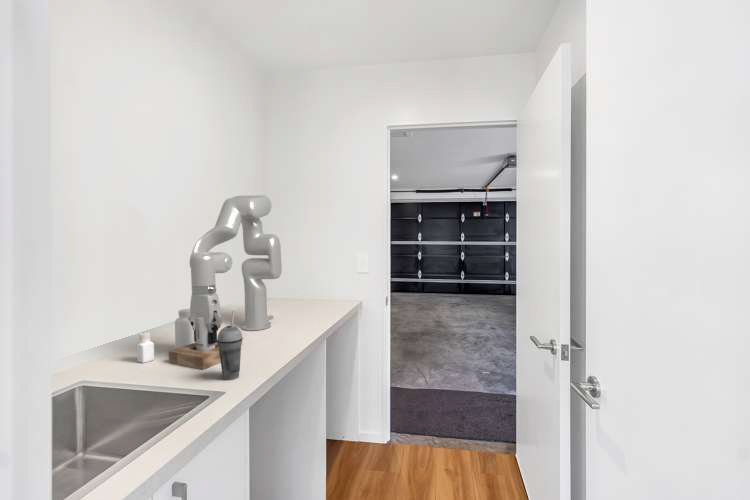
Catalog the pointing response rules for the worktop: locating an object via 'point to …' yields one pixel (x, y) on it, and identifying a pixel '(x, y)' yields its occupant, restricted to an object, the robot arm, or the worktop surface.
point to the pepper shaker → (145, 348)
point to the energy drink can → (202, 335)
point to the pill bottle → (183, 329)
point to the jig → (195, 356)
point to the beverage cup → (230, 350)
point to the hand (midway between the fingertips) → (205, 341)
